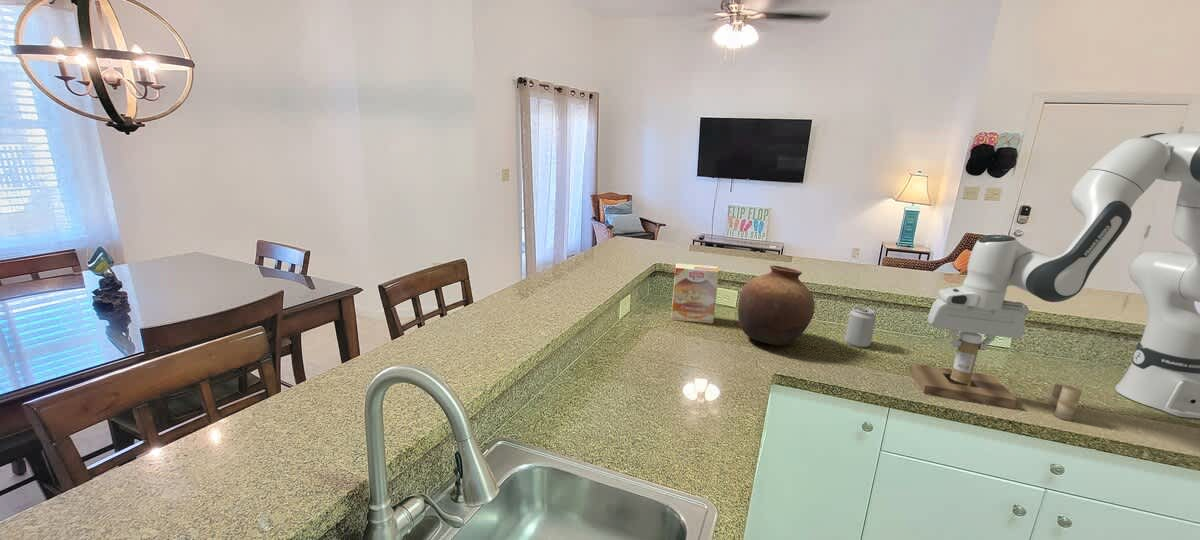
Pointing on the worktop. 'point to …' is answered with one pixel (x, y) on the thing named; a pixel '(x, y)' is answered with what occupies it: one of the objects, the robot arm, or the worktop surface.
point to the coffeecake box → (694, 293)
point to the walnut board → (962, 386)
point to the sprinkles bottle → (966, 357)
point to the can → (860, 327)
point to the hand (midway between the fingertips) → (968, 347)
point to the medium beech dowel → (1067, 403)
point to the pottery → (775, 307)
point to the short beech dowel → (1055, 394)
